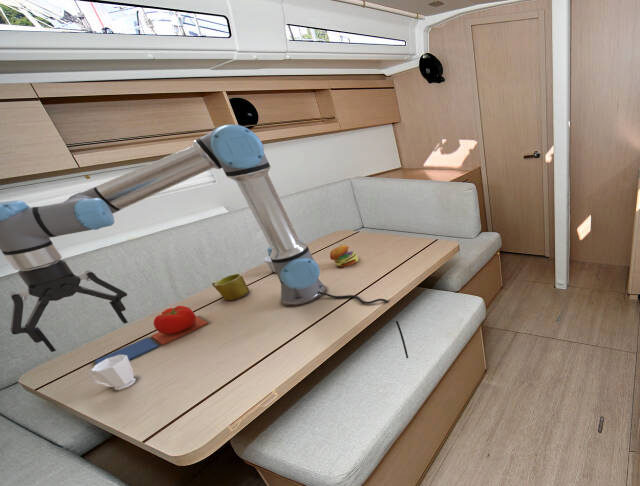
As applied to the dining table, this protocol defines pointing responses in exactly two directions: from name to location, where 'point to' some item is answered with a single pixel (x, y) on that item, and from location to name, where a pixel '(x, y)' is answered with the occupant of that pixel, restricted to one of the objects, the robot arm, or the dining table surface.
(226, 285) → the mug
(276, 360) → the dining table surface
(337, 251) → the cheeseburger
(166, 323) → the tomato
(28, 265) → the robot arm
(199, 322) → the red mat
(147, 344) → the blue mat
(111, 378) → the cup
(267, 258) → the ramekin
